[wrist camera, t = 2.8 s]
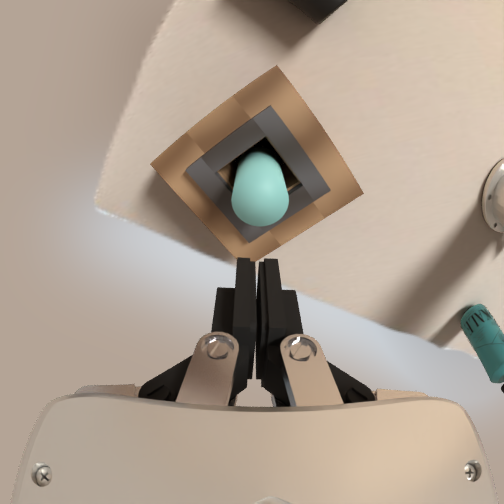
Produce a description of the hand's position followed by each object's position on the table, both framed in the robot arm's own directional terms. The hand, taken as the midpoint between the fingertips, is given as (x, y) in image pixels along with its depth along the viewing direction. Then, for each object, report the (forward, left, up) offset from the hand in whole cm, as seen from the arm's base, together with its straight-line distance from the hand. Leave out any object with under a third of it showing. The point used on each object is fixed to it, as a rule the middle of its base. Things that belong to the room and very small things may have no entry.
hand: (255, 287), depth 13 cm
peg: (0, 0, -19) cm, 19 cm away
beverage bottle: (-45, -17, -24) cm, 54 cm away
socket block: (0, 0, -24) cm, 24 cm away
